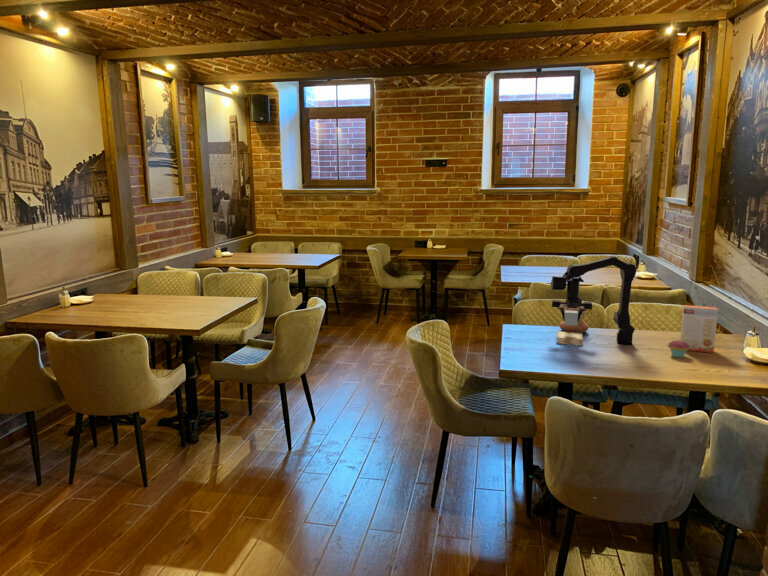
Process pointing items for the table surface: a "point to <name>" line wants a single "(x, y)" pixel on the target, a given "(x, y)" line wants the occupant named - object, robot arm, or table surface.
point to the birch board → (569, 338)
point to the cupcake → (678, 347)
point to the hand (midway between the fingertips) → (570, 321)
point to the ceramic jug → (581, 324)
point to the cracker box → (699, 327)
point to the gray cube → (571, 317)
